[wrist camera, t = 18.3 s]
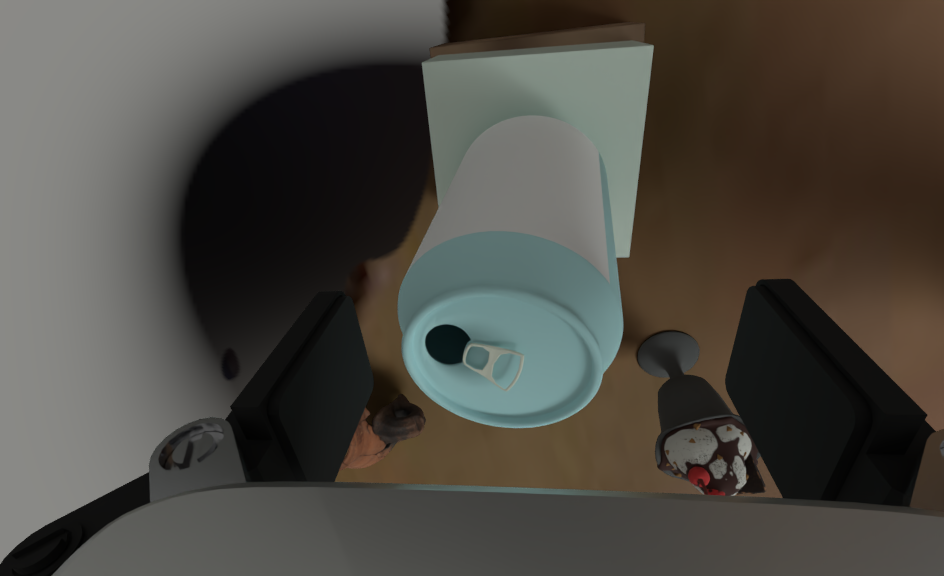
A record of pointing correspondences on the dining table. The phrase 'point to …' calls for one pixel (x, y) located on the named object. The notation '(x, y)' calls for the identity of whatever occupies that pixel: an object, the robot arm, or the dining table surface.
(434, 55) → the walnut base block
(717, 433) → the sundae
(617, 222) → the sage top block
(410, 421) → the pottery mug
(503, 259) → the can
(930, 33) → the dining table surface
